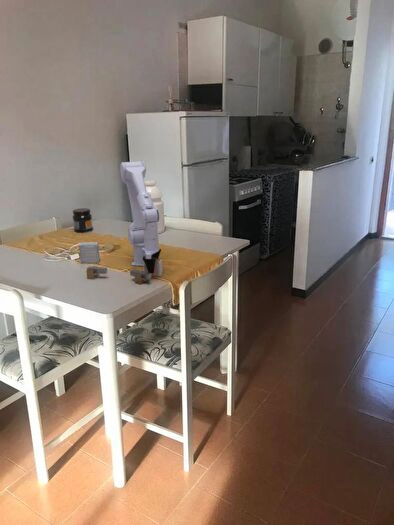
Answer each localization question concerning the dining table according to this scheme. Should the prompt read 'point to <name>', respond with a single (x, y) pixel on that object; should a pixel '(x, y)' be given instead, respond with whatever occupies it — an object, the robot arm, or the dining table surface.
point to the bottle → (156, 202)
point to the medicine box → (89, 252)
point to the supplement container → (82, 220)
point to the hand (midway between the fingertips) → (153, 269)
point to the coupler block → (157, 270)
